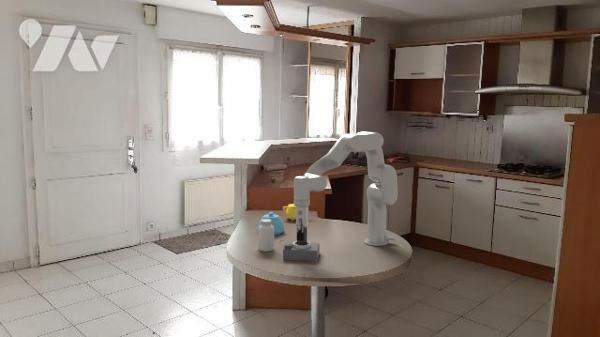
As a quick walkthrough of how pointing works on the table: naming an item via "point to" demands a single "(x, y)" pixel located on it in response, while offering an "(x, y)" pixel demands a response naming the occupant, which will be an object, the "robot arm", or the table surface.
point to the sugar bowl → (274, 222)
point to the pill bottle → (266, 235)
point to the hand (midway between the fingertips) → (301, 237)
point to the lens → (304, 238)
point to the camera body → (301, 251)
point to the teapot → (290, 211)
